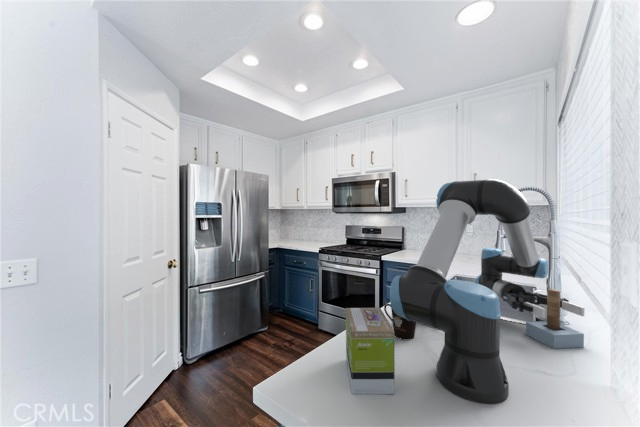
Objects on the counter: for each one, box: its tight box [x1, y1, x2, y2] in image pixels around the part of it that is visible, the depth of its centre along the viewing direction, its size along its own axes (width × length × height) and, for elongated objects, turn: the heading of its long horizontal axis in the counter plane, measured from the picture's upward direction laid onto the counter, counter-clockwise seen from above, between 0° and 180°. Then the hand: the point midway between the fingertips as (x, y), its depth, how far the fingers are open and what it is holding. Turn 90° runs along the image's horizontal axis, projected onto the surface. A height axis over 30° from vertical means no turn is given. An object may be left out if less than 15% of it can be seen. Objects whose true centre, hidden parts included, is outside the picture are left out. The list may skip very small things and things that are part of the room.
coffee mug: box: [383, 303, 417, 340], centre depth 92 cm, size 12×9×10 cm
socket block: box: [525, 320, 585, 349], centre depth 88 cm, size 10×10×4 cm
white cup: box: [533, 289, 562, 321], centre depth 105 cm, size 8×8×10 cm
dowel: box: [546, 288, 561, 331], centre depth 88 cm, size 3×3×16 cm
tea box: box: [345, 307, 396, 395], centre depth 68 cm, size 15×10×15 cm
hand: (563, 312), depth 85 cm, fingers open, 13 cm apart
